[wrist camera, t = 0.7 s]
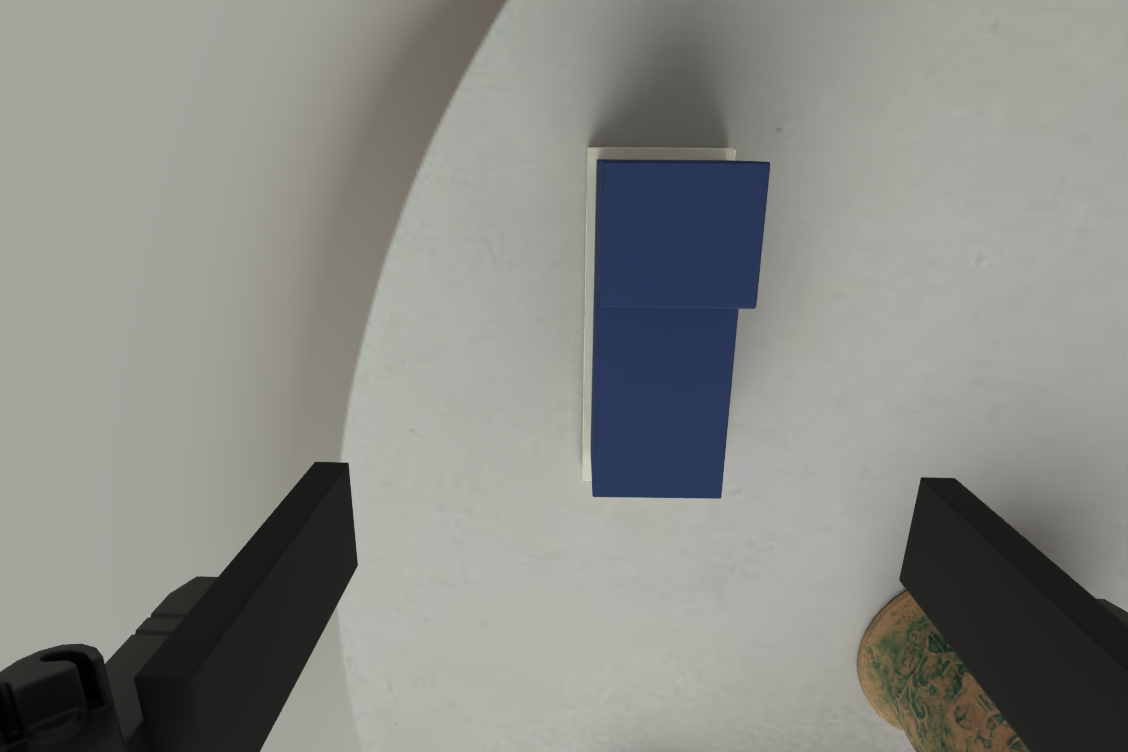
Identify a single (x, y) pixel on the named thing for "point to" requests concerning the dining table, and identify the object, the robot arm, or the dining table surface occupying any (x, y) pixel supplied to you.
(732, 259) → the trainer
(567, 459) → the dining table surface
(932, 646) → the mug
